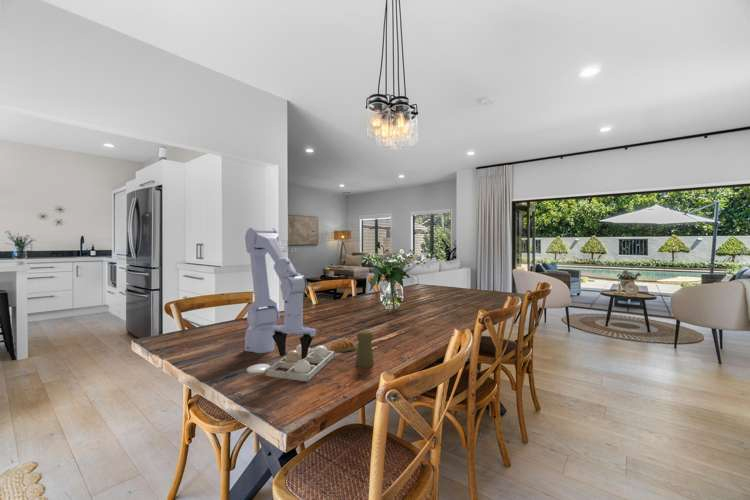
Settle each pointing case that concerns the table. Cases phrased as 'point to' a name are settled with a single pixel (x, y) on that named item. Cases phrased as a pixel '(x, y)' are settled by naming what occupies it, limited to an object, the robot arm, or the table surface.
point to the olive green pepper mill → (364, 349)
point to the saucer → (257, 368)
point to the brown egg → (292, 356)
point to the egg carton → (290, 373)
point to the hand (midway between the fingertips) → (293, 356)
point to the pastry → (344, 345)
